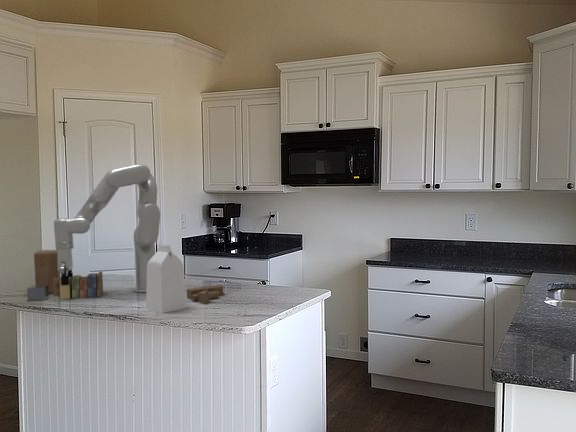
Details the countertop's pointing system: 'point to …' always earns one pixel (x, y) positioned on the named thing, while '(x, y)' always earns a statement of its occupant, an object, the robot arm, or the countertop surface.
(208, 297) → the wooden block set
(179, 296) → the milk
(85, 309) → the countertop surface
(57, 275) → the wooden block
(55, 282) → the rack
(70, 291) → the tan rectangular block
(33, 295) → the grey stone cube
